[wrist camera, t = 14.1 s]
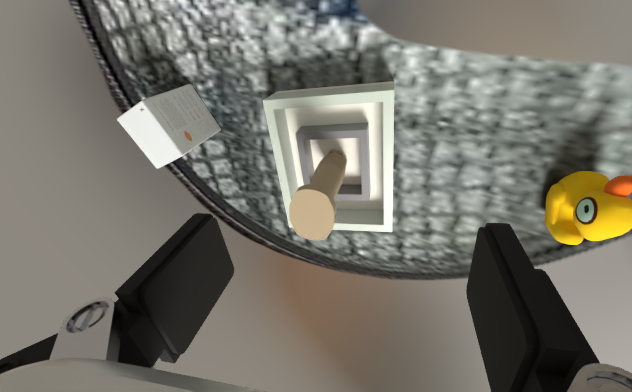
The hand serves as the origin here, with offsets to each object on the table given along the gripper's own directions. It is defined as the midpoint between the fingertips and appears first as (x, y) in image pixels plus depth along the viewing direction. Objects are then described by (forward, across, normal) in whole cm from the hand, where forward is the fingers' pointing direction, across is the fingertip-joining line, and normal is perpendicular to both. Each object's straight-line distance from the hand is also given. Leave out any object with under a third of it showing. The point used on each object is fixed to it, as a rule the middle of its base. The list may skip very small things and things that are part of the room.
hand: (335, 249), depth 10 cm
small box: (+33, +29, +2) cm, 43 cm away
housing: (+32, +6, +10) cm, 34 cm away
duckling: (+32, -24, +16) cm, 44 cm away
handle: (+31, +6, +10) cm, 33 cm away
